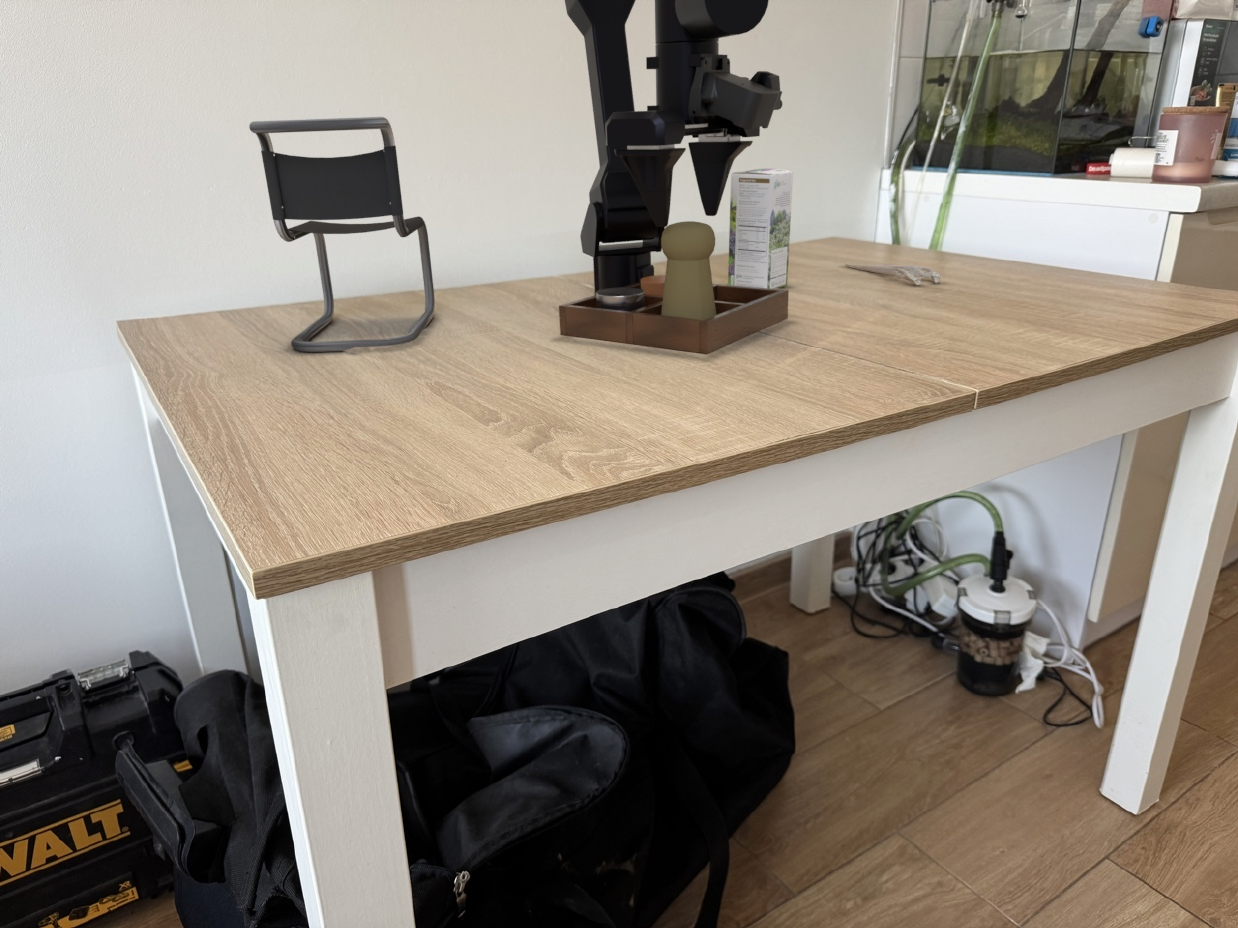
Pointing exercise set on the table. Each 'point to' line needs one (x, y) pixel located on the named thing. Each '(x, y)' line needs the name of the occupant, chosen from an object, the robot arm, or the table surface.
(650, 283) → the tin
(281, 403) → the table surface
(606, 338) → the tray
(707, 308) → the olive peg figure
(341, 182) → the chair
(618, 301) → the tin
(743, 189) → the syrup box
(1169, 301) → the table surface
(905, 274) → the grey long forked piece
